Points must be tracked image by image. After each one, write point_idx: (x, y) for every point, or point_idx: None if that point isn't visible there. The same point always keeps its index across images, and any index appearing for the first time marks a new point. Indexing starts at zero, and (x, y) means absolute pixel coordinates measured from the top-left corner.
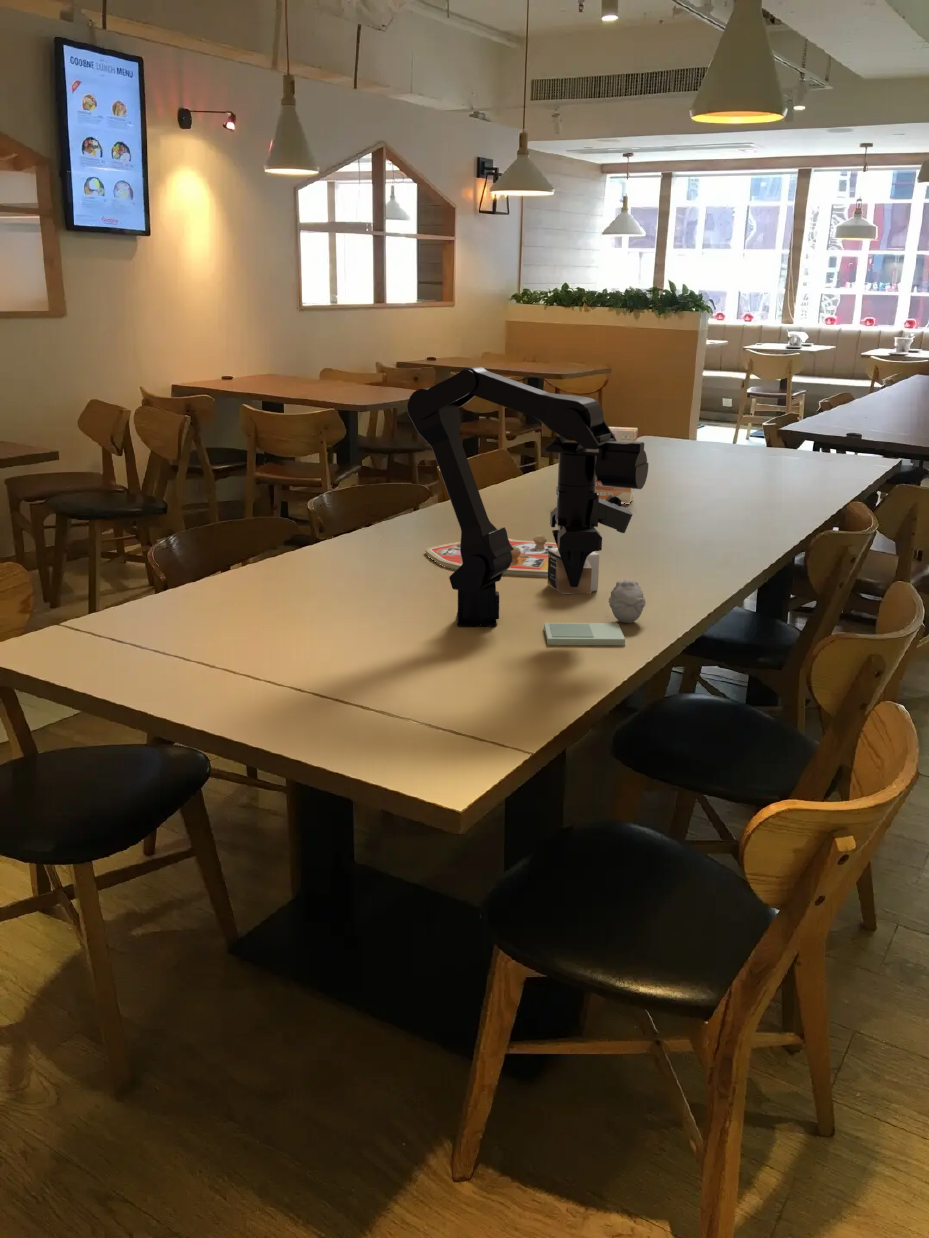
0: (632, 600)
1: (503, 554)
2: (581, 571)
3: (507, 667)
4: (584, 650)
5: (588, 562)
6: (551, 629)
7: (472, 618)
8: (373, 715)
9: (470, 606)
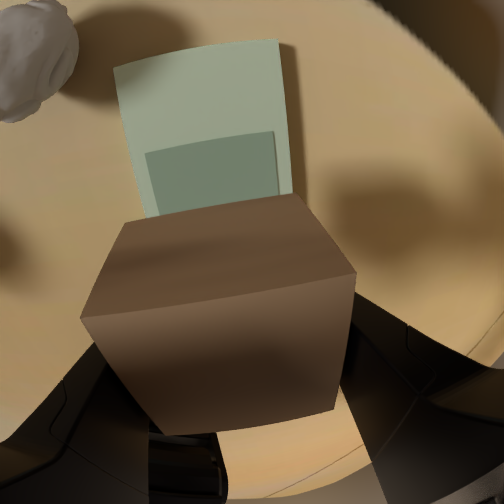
0: (61, 21)
1: (174, 493)
2: (391, 317)
3: (406, 291)
4: (326, 153)
5: (160, 312)
6: None
7: None
8: (470, 355)
9: None
